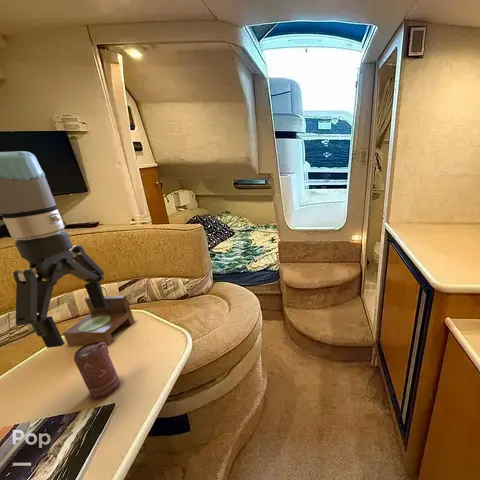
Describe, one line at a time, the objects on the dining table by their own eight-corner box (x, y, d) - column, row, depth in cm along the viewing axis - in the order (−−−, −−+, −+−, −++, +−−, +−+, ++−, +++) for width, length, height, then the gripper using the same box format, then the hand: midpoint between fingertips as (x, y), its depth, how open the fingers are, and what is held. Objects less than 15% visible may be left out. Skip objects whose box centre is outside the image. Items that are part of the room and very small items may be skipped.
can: (126, 385, 72) (109, 343, 67) (99, 405, 67) (79, 361, 62) (115, 377, 75) (97, 337, 70) (88, 396, 70) (67, 353, 65)
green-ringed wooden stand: (69, 348, 88) (55, 317, 84) (100, 324, 99) (88, 296, 95) (109, 347, 87) (97, 316, 83) (135, 324, 98) (125, 295, 94)
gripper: (-4, 257, 41) (52, 364, 48) (102, 216, 64) (129, 293, 72) (-58, 262, 40) (7, 370, 48) (69, 219, 64) (99, 296, 71)
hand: (80, 324), depth 60 cm, fingers open, 13 cm apart
